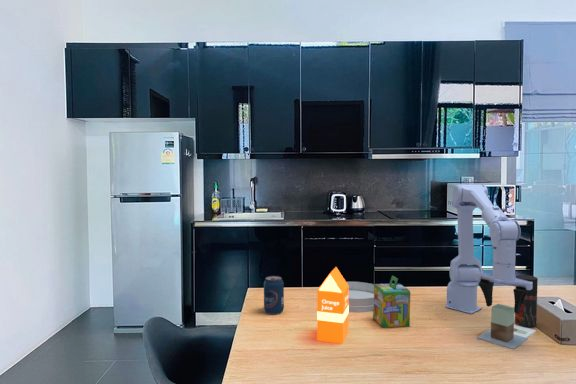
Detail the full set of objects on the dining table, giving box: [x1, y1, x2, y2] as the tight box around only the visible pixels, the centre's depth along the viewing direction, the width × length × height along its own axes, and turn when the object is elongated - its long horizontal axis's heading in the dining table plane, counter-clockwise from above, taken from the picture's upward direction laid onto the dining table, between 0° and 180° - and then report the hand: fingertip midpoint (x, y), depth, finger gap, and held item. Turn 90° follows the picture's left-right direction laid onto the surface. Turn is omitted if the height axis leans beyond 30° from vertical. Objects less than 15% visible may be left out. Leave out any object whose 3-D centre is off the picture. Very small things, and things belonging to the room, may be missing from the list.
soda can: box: [263, 275, 285, 316], centre depth 142 cm, size 7×7×12 cm
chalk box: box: [372, 275, 411, 329], centre depth 131 cm, size 9×9×15 cm
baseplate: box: [477, 328, 528, 350], centre depth 118 cm, size 10×10×1 cm
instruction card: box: [514, 324, 537, 338], centre depth 123 cm, size 7×9×1 cm
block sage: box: [490, 303, 515, 327], centre depth 118 cm, size 4×4×4 cm
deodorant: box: [514, 274, 539, 329], centre depth 129 cm, size 6×6×15 cm
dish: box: [346, 281, 374, 313], centre depth 152 cm, size 22×22×5 cm
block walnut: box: [490, 321, 515, 342], centre depth 118 cm, size 4×4×4 cm
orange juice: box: [316, 266, 350, 344], centre depth 120 cm, size 8×9×20 cm
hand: (502, 309), depth 118 cm, fingers open, 7 cm apart
